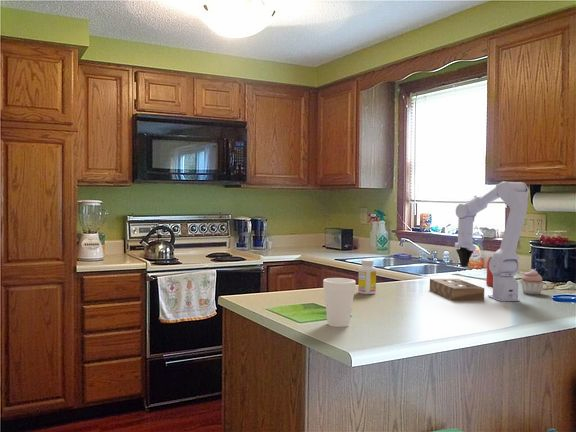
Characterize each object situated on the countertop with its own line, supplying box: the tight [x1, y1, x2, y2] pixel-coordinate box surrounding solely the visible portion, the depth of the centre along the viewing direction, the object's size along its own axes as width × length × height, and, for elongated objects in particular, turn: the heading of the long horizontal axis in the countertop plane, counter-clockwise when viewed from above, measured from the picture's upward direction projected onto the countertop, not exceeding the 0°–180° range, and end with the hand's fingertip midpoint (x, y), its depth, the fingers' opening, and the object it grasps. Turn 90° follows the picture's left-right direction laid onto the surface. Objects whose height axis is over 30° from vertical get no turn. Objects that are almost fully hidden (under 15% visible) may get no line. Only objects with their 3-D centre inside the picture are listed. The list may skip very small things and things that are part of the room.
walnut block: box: [429, 278, 485, 302], centre depth 216 cm, size 22×12×4 cm, turn 8°
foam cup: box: [322, 277, 357, 328], centre depth 164 cm, size 10×9×13 cm
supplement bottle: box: [357, 259, 377, 295], centre depth 216 cm, size 7×7×13 cm
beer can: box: [485, 256, 493, 288], centre depth 240 cm, size 7×7×12 cm
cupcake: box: [519, 268, 545, 296], centre depth 223 cm, size 9×9×10 cm
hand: (464, 266), depth 229 cm, fingers closed
